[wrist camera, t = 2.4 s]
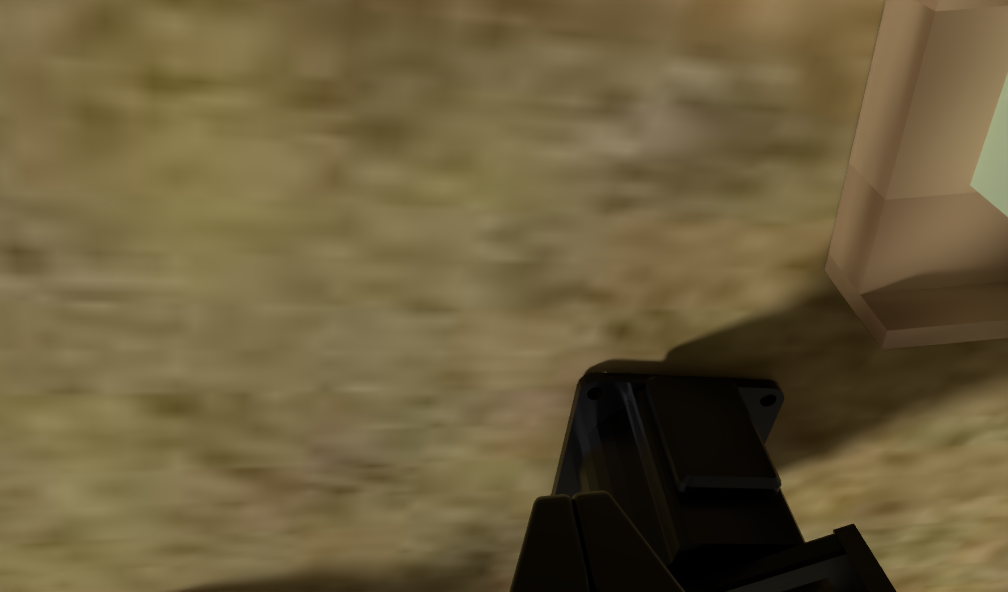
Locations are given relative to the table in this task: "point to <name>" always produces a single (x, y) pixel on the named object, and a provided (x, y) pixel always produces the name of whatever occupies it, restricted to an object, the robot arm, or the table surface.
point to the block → (995, 158)
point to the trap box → (926, 180)
